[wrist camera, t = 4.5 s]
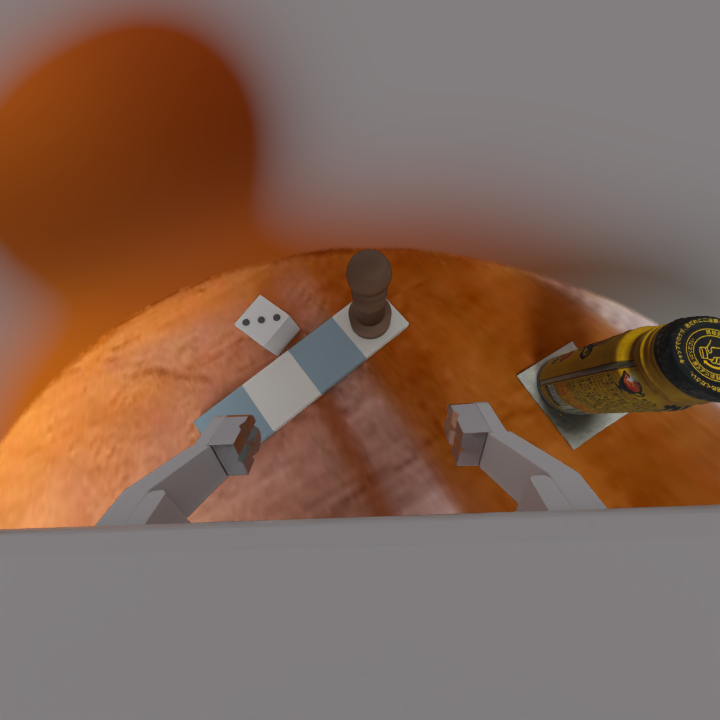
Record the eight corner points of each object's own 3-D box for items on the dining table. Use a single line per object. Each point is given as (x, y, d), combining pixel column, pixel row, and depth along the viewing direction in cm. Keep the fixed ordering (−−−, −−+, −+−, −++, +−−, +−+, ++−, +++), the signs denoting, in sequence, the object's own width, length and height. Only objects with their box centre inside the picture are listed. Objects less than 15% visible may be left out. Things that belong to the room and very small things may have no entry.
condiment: (570, 341, 27) (716, 282, 16) (629, 410, 26) (845, 401, 14) (515, 376, 27) (624, 341, 15) (571, 449, 25) (744, 473, 13)
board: (407, 326, 29) (409, 323, 28) (228, 469, 26) (223, 470, 25) (373, 289, 30) (373, 285, 29) (199, 421, 27) (193, 421, 26)
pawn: (398, 322, 28) (414, 263, 17) (367, 347, 27) (363, 301, 17) (372, 294, 29) (373, 221, 18) (342, 317, 28) (324, 257, 18)
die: (300, 329, 29) (289, 315, 25) (278, 357, 29) (262, 346, 25) (274, 310, 30) (259, 293, 26) (252, 337, 29) (233, 324, 25)
